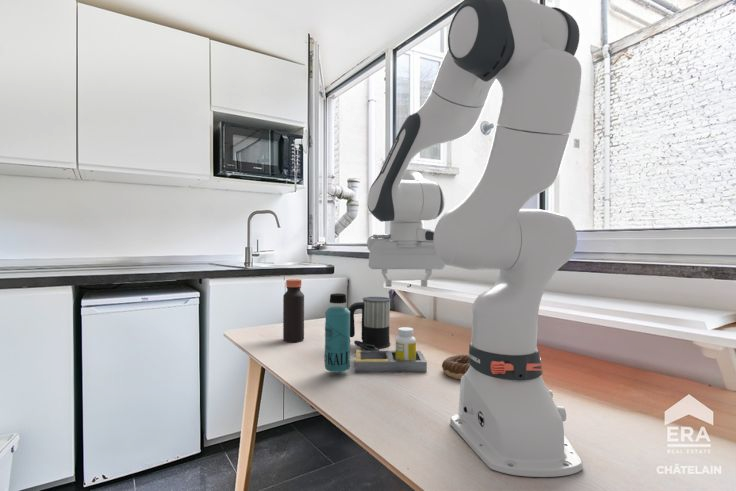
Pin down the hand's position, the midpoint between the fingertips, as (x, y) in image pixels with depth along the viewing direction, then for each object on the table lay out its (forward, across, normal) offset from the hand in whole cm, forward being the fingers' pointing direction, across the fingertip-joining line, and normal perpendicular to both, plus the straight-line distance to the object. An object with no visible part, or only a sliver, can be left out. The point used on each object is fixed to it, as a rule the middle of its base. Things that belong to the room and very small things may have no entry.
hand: (406, 286), depth 100 cm
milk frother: (+21, -8, +16) cm, 28 cm away
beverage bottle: (+21, -18, -6) cm, 28 cm away
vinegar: (+21, -34, +25) cm, 48 cm away
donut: (+21, +14, -7) cm, 26 cm away
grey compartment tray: (+21, -4, 0) cm, 21 cm away
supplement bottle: (+21, 0, 0) cm, 21 cm away
